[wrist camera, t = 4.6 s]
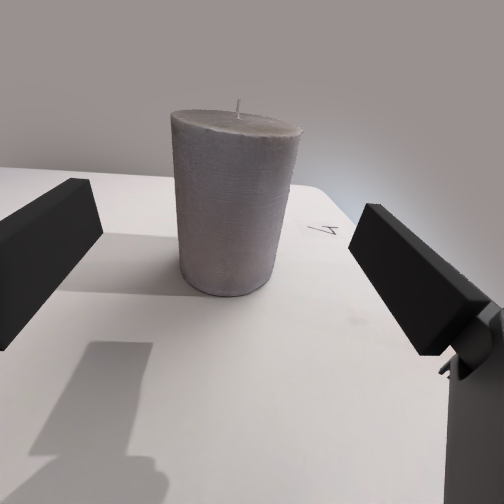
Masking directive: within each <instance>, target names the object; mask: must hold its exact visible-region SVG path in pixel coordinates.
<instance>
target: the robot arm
mask: <svg viewBox="0 0 504 504" xmlns="http://www.w3.org/2000/svg"><path fill="white" fill-rule="evenodd" d="M102 234H103V229H102V226H101V222H100V218H99V215H98V211H97V207H96V204H95V200H94V196H93V192H92V189H91V185H90V181H89V179H78V178H69V179H68V180H66V181H65V182H63V183H61V184H60V185H58V186H56V187H55V188H53V189H52V190H50V191H48V192H47V193H45V194H43V195H42V196H40V197H39V198H37V199H35V200H34V201H32V202H30V203H29V204H27V205H26V206H24V207H22V208H21V209H19V210H17V211H16V212H14V213H13V214H11V215H9V216H8V217H6V218H4V219H3V220H1V221H0V351H4V350H5V349H6V348H7V347H8V346H9V344H10V343H11V342H12V341H13V340H14V338H15V337H16V336H17V335H18V334H19V332H20V331H21V330H22V329H23V328H24V327H25V325H26V324H27V323H28V322H29V321H30V319H31V318H32V317H33V316H34V315H35V313H36V312H37V311H38V310H39V309H40V307H41V306H42V305H43V304H44V303H45V302H46V300H47V299H48V298H49V297H50V296H51V294H52V293H53V292H54V291H55V290H56V288H57V287H58V286H59V285H60V284H61V283H62V281H63V280H64V279H65V278H66V277H67V275H68V274H69V273H70V272H71V271H72V269H73V268H74V267H75V266H76V265H77V263H78V262H79V261H80V260H81V259H82V258H83V256H84V255H85V254H86V253H87V252H88V250H89V249H90V248H91V247H92V246H93V244H94V243H95V242H96V241H97V240H98V239H99V237H100V236H101V235H102ZM348 249H349V250H350V252H351V253H352V255H353V256H354V258H355V259H356V261H357V262H358V264H359V265H360V267H361V268H362V270H363V271H364V273H365V274H366V276H367V277H368V279H369V280H370V282H371V283H372V285H373V286H374V288H375V289H376V291H377V292H378V294H379V295H380V297H381V298H382V300H383V301H384V303H385V304H386V306H387V307H388V309H389V310H390V312H391V313H392V315H393V316H394V318H395V319H396V321H397V322H398V324H399V325H400V327H401V328H402V330H403V331H404V333H405V334H406V336H407V337H408V339H409V340H410V342H411V343H412V345H413V346H414V348H415V349H416V351H417V352H418V354H419V355H420V356H440V355H441V354H442V353H443V352H444V351H445V350H446V348H447V347H448V346H449V345H451V347H452V348H453V349H454V350H455V352H456V354H455V355H454V356H453V357H452V358H451V359H450V360H449V361H448V362H447V363H446V364H445V365H444V366H443V367H442V368H441V369H440V371H439V374H441V375H443V374H444V373H445V372H446V371H448V370H450V375H449V376H448V377H447V378H448V379H450V384H449V404H448V424H447V444H446V465H445V485H444V504H504V308H500V307H499V306H498V305H497V304H496V303H495V302H494V301H492V300H491V299H490V298H489V297H488V296H487V295H485V294H484V293H483V292H482V291H481V290H480V289H478V288H477V287H476V286H475V285H474V284H473V283H471V282H470V281H468V279H467V278H466V277H465V276H464V275H462V274H460V272H459V271H458V270H457V269H455V268H454V267H453V266H452V265H451V264H450V263H448V262H446V261H445V260H444V259H443V258H442V257H440V256H439V255H438V254H437V253H436V252H435V251H433V250H432V249H431V248H430V247H429V246H428V245H427V244H425V243H424V242H423V241H422V240H421V239H420V238H419V237H417V236H416V235H415V234H414V233H413V232H411V231H410V230H409V229H408V228H407V227H406V226H405V225H404V224H402V223H401V222H400V221H399V220H398V219H397V218H395V217H394V216H393V215H392V214H391V213H390V212H388V211H387V210H386V209H385V208H384V207H383V206H382V205H381V204H369V203H367V204H366V205H365V208H364V210H363V213H362V215H361V217H360V220H359V222H358V225H357V227H356V230H355V232H354V235H353V237H352V240H351V242H350V244H349V247H348Z"/></svg>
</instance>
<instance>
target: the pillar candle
mask: <svg viewBox="0 0 504 504" xmlns="http://www.w3.org/2000/svg"><path fill="white" fill-rule="evenodd" d="M240 104H241V99H238V101H237V109H236V112H227V111H217V110H180V111H175V112H173V113H171V127H172V128H171V129H172V145H173V162H174V163H173V164H174V179H175V195H176V212H177V227H178V241H179V255H180V268H181V272H182V275H183V277H184V278H185V279H186V280H187V282H188V283H189V284H191V285H192V286H193V287H195V288H197V289H198V290H201V291H203V292H206V293H208V294H212V295H217V296H226V297H227V296H229V297H231V296H241V295H245V294H248V293H250V292H252V291H254V290H255V289H257V288H259V287H261V286H262V285H263V284H264V283H266V282H267V281H268V280H269V278H270V276H271V273H272V270H273V267H274V262H275V258H276V252H277V247H278V242H279V238H280V233H281V228H282V223H283V218H284V214H285V208H286V204H287V200H288V194H289V192H290V189H289V188H290V183H291V178H292V174H293V168H294V164H295V160H296V156H297V150H298V144H299V141H300V137H301V134H302V133H303V130H302V129H300V128H298V127H297V126H294V125H292V124H290V123H286V122H283V121H280V120H277V119H273V118H268V117H263V116H259V115H251V114H244V113H239V110H240Z"/></svg>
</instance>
